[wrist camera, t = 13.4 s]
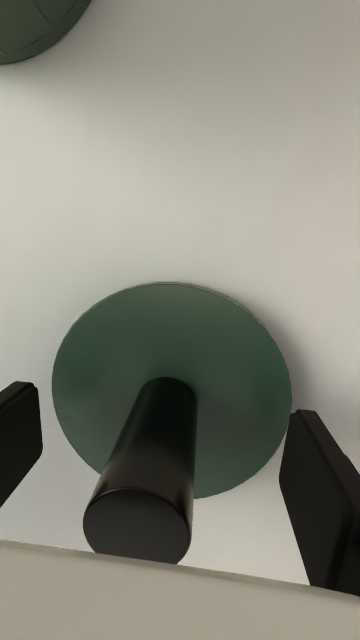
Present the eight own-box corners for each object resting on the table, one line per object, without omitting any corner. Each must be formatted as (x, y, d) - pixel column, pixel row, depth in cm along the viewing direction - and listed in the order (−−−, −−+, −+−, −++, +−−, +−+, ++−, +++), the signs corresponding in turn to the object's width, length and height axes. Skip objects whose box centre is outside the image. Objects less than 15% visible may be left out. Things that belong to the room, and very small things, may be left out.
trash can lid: (68, 468, 15) (-38, 641, 8) (57, 271, 12) (-115, 303, 6) (267, 492, 14) (319, 703, 7) (303, 289, 11) (433, 348, 5)
